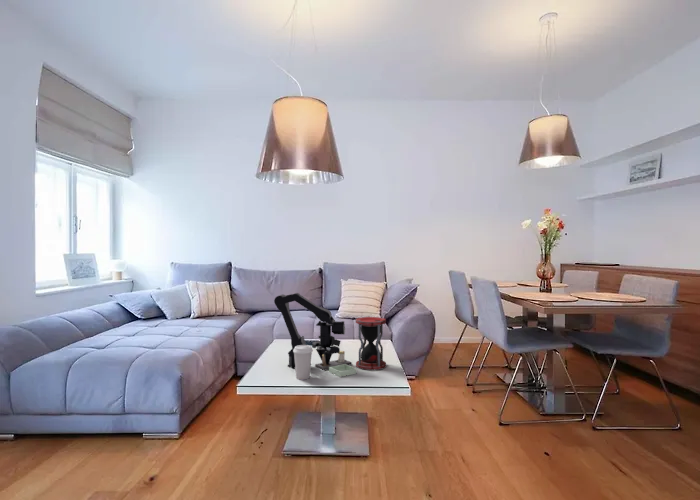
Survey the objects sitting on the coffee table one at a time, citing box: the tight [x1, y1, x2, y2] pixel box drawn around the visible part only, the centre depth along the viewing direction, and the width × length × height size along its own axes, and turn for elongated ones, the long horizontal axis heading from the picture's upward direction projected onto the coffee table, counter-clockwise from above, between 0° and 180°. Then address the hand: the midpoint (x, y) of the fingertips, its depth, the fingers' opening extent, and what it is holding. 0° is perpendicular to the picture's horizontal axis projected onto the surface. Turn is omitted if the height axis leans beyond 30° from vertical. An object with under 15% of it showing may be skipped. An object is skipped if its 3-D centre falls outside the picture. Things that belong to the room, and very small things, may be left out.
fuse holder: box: [314, 359, 353, 371], centre depth 220 cm, size 18×8×1 cm, turn 126°
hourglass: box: [355, 316, 387, 371], centre depth 220 cm, size 16×16×25 cm
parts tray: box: [328, 364, 357, 378], centre depth 208 cm, size 10×10×2 cm
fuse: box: [337, 350, 346, 363], centre depth 223 cm, size 4×4×7 cm
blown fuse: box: [321, 354, 329, 367], centre depth 218 cm, size 4×4×7 cm
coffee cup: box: [293, 344, 313, 381], centre depth 201 cm, size 10×10×15 cm
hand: (325, 363), depth 218 cm, fingers closed on blown fuse, 4 cm apart
